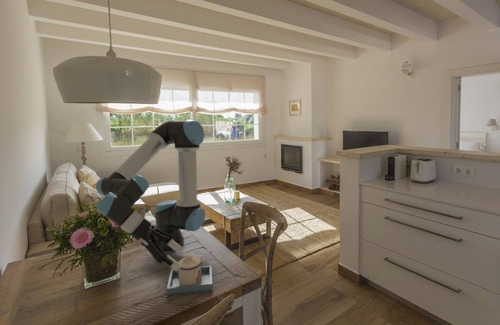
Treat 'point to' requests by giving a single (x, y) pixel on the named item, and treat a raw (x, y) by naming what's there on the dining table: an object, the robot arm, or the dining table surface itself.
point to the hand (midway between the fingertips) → (180, 259)
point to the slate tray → (176, 289)
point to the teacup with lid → (190, 271)
